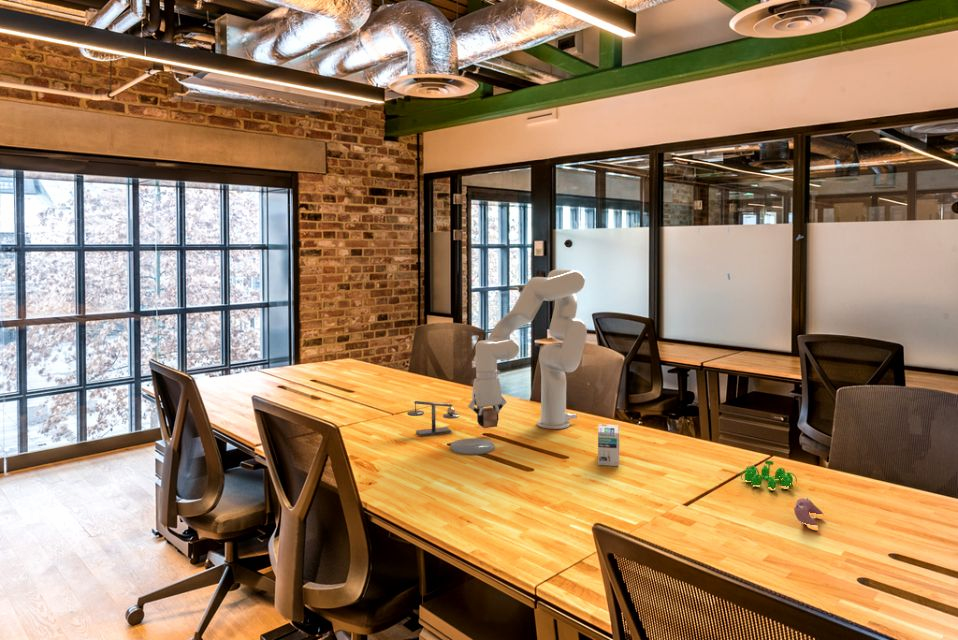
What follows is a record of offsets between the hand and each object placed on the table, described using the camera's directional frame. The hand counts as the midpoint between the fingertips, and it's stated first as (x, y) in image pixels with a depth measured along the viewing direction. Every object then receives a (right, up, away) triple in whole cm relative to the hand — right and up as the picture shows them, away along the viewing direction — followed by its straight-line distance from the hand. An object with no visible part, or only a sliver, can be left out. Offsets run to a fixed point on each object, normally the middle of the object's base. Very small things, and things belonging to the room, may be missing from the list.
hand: (488, 423), depth 244 cm
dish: (-6, -6, -14) cm, 16 cm away
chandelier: (+81, -11, -49) cm, 95 cm away
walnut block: (0, -1, 0) cm, 1 cm away
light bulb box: (+38, -8, -28) cm, 48 cm away
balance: (-20, -4, +5) cm, 21 cm away
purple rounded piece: (+79, -13, -77) cm, 111 cm away
